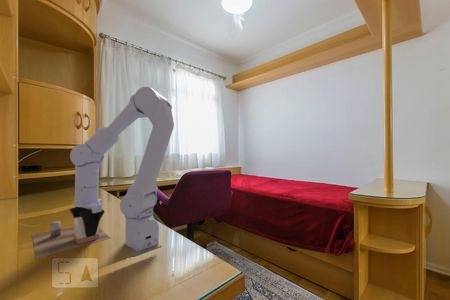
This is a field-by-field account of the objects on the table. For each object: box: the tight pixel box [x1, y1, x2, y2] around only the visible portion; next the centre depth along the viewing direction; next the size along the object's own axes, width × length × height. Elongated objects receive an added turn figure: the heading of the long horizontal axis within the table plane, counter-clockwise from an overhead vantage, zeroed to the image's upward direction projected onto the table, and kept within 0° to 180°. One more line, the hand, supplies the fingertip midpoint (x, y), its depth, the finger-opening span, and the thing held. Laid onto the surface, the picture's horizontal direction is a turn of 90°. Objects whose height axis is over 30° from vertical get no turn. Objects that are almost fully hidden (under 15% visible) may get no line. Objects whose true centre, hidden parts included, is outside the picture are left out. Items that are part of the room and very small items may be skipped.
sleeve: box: [73, 217, 100, 244], centre depth 59 cm, size 5×5×6 cm
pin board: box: [31, 220, 111, 260], centre depth 60 cm, size 20×16×5 cm
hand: (86, 233), depth 58 cm, fingers open, 6 cm apart
